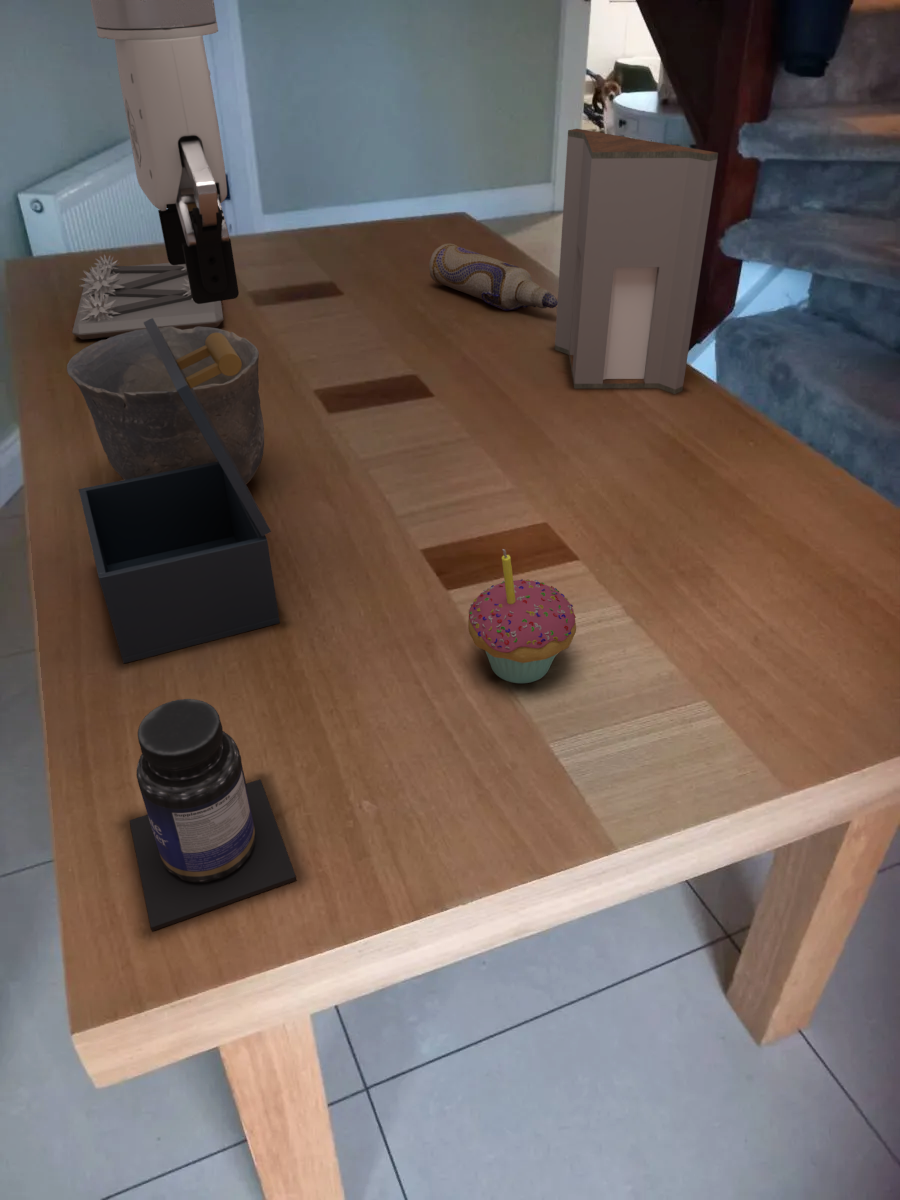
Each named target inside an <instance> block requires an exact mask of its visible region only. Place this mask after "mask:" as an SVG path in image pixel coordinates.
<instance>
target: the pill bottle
mask: <svg viewBox="0 0 900 1200" xmlns="http://www.w3.org/2000/svg"><path fill="white" fill-rule="evenodd" d="M137 740H138V744H139V747H140V752H141V754H140V756H139V759H138V761H137V765H136V779H137V784H138V788H139V790H140V795H141V797H142V800H143V805H144V807H145V810H146V815H148V817H149V821H150V824H151V828H152V831H153V834H154V837H155V840H156V843H157V847H158V850H159V853H160V856H161V860H162V862H163V864H164V866H165V867H166V869H167V870H168V871H169V872H170V873H172V874H173V875H176V876H178V877H179V878H180V879H182V880H185V881H188V882H194V883H203V882H210V881H212V880H216V879H220V878H223V877H225V876H227V875H229V874H231V873H232V872H234V871H235V870H237V869H238V868H239V867H240V866H242V865H243V864H244V862H245V861H246V860H247V859H248V857H249V855H250V854H251V852H252V850H253V847H254V843H255V826H254V821H253V815H252V810H251V807H250V801H249V796H248V791H247V786H246V784H247V782H246V776H245V772H244V768H243V763H242V762H243V761H242V755H241V753H240V749H239V748H238V744H237V743H236V741H235V739H234V738H233V737H232V736H231V735H230V734H228V733H227V732H225V731H224V730H223V725H222V721H221V717H220V714H219V712H218V710H217V709H216V708H215V707H214V706H213V705H212V704H210V703H208V702H206V701H204V700H200V699H195V698H183V699H182V698H181V699H175V700H171V701H168V702H165V703H162V704H161V705H158V706H156V707H155V708H154V709H153V710H151V711H150V712H148V713H147V714H146V715H145V716H144V717H143V719H142V720H141V721H140V723H139V726H138V730H137Z"/></svg>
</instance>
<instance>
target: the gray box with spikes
mask: <svg viewBox="0 0 900 1200" xmlns="http://www.w3.org/2000/svg"><path fill="white" fill-rule="evenodd" d="M95 260H96V262H94V267H93V266H92V265H90V266H91V267H90V268H89V270H90V271H89V272H88V271H86V270H85V269H83V270H82V272H83V273H84V274H85V275H86V276H85V277H81V278H80V281H82V282H84V284H80V288H81V287H82V291H81V296H80V299H79V304H78V308H77V312H76V316H75V319H74V324H73V328H72V331H71V333H72V334H73V335H74V336H75V337H77V338H79V339H80V340H82V341H83V340H92V339H102V338H110V337H113V336H117V335H120V334H124V333H128V332H132V331H135V330H142V329H146V327H145V325H144V322H145V321H147V320H149V319H151V318H153V319H154V321H155V323H156V325H157V326H158V328H165V327H174V328H177V329H181V330H185V329H193V328H195V327H198V326H199V327H210V328H218V327H219V326H220V324H221V323H222V322H223V321H224V314H223V306H222V301H216V302H209V303H203V304H197V303H195V302H194V300H193V299H192V295H191V290H190V285H189V279H188V274H187V268H186V264H181V265H171V264H170V263H169V262H163V263H151V264H137V265H120V264H121V262H118V261H119V259H117V260H115V261H113V260H114V256H112V257H111V254H109V256H108V258H107V256H106V254H105V253H103V257H102V256H100V257H99V259H98V258H95Z"/></svg>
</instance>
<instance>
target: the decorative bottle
mask: <svg viewBox="0 0 900 1200" xmlns="http://www.w3.org/2000/svg"><path fill="white" fill-rule="evenodd" d="M428 270H429V276H430V278H431V279H432V280H433V282H435V283H436V284H438V285H441V286H445V287H448V288H450V289H453V290H455V291H458V292H462V293H464V294H466V295H470V296H471V297H474V298H476V299H480V300H483V302H485V303H486V304H489V305H490V306H493V307H496V308H498V309H501V310H503V311H512V310H518V309H520V308H528V307H533V308H538V309H542V310H543V309H547V308H549V309H554V308H557V303H558V299H557V298H556V297H555V295H554V294H552V292H551V291H550V290H548V289H547V288H542V287H541V286H540V285H539V284H537V283H536V282H535V281H533V279H532V275H531V273H530V272H529V271H527V269H524V268H523V267H519V266H517V265H515V264H511V263H508V262H505V261H503V260H500V259H497V258H494V257H490V256H488V255H484V254H481V253H480V252H479V253H478V252H476V251H473V250H470V249H467V248H464V247H462V246H458V245H456V244H454V243H444V244H442V245H440V246H438V247H437V248H436V249H435V250H434V251H433V252H432V253H431V257H430V258H429V263H428Z"/></svg>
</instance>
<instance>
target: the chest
mask: <svg viewBox="0 0 900 1200" xmlns="http://www.w3.org/2000/svg"><path fill="white" fill-rule="evenodd" d="M78 492H79V497H80V502H81V506H82V511H83V514H84V519H85V523H86V528H87V533H88V536H89V541H90V546H91V550H92V555H93V559H94V563H95V567H96V568H95V569H96V572H97V576H98V580H99V584H100V587H101V591H102V594H103V598H104V601H105V605H106V608H107V611H108V615H109V618H110V623H111V626H112V628H113V632H114V635H115V639H116V643H117V646H118V649H119V653H120V656H121V660H122V663H123V664H127V663H132V662H136V661H138V660H139V661H140V660H144V659H147V658H151V657H154V656H158V655H162V654H166V653H170V652H174V651H177V650H182V649H185V648H188V647H189V648H190V647H193V646H197V645H200V644H204V643H208V642H212V641H216V640H220V639H224V638H228V637H231V636H235V635H238V634H243V633H246V632H247V633H248V632H250V631H254V630H258V629H262V628H265V627H270V626H273V625H277V624H281V621H280V615H279V607H278V601H277V593H276V587H275V582H274V574H273V568H272V562H271V555H270V554H271V553H270V549H269V543H268V542H269V541H268V538H267V536H266V535H264V536H261V534H260V533H259V531H258V529H257V527H256V526H255V524H254V522H253V521H252V519H251V517H250V515H249V514H248V512H247V510H246V509H245V507H244V505H243V503H242V502H241V500H240V498H239V497H238V495H237V493H236V491H235V490H234V488H233V486H232V485H231V483H230V481H229V479H228V478H227V476H226V474H225V473H224V471H223V469H222V467H221V466H220V464H219V462H218V461H217V462H212V463H207V464H202V465H197V466H192V467H187V468H182V469H177V470H172V471H167V472H162V473H157V474H152V475H147V476H142V477H137V478H132V479H127V480H124V479H123V480H118V481H113V482H108V483H102V484H96V485H92V486H87V487H82V488H79V489H78Z"/></svg>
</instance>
